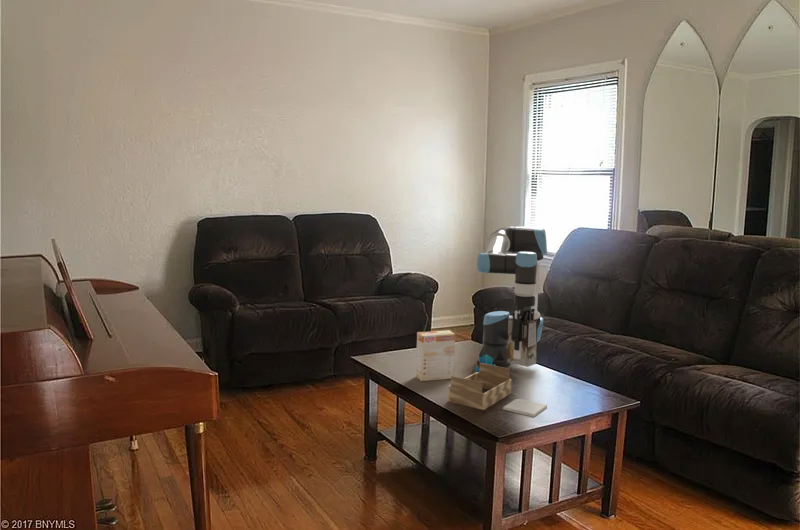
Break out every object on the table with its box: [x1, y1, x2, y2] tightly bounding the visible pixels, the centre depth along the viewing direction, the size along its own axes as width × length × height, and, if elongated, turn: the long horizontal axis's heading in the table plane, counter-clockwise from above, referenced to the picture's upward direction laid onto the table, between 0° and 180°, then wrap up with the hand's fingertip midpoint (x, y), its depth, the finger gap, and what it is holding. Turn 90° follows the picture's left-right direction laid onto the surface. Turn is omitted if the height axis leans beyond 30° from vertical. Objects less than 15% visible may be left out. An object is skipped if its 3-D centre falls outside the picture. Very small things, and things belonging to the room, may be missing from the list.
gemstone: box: [475, 354, 495, 373], centre depth 271 cm, size 7×9×12 cm
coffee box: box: [507, 319, 538, 368], centre depth 237 cm, size 9×6×16 cm
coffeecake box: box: [415, 329, 456, 382], centre depth 273 cm, size 15×7×20 cm, turn 108°
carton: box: [447, 362, 512, 411], centre depth 250 cm, size 23×15×10 cm, turn 145°
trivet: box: [502, 398, 548, 418], centre depth 239 cm, size 12×12×1 cm
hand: (521, 356), depth 238 cm, fingers closed on coffee box, 7 cm apart
